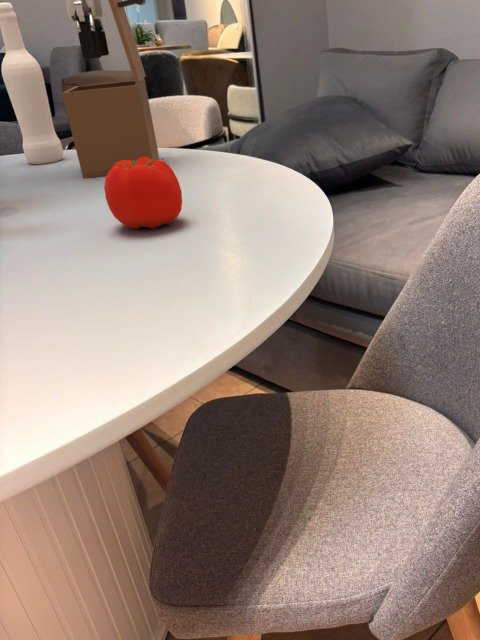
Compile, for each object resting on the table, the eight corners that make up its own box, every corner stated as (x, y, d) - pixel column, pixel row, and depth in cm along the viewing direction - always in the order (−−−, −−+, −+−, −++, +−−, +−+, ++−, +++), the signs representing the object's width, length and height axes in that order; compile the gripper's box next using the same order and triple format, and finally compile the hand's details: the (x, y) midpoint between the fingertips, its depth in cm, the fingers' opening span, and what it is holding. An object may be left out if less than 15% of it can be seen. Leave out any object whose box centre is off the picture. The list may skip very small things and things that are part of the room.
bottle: (64, 155, 146) (24, 1, 131) (65, 161, 139) (23, 0, 124) (28, 160, 144) (-17, 5, 129) (26, 166, 138) (-21, 3, 122)
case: (83, 178, 122) (61, 93, 114) (94, 164, 133) (75, 86, 125) (154, 170, 122) (138, 85, 115) (159, 157, 134) (144, 79, 126)
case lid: (104, -11, 107) (135, -19, 107) (114, -8, 119) (142, -15, 118) (135, 82, 114) (164, 75, 114) (142, 77, 126) (168, 70, 126)
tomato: (168, 237, 83) (154, 168, 79) (96, 236, 86) (79, 169, 82) (201, 214, 92) (191, 150, 87) (135, 214, 95) (121, 152, 90)
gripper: (61, -51, 116) (84, 56, 125) (39, -61, 101) (67, 61, 110) (102, -53, 116) (122, 53, 125) (87, -64, 102) (111, 57, 110)
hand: (96, 56), depth 117 cm, fingers open, 9 cm apart
